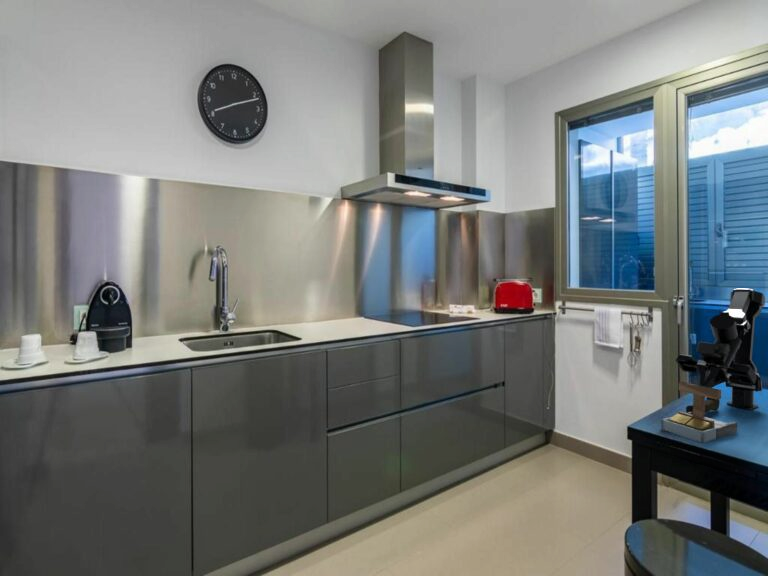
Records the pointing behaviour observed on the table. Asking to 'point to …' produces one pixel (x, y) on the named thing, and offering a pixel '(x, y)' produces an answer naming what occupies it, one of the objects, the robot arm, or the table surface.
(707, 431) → the tray
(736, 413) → the table surface
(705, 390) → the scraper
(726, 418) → the table surface
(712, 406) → the hand tool
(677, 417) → the chip
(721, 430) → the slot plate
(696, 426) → the chip
